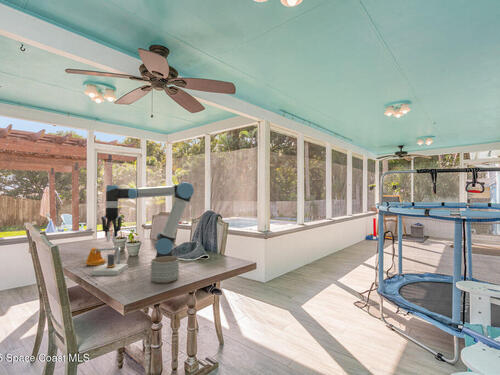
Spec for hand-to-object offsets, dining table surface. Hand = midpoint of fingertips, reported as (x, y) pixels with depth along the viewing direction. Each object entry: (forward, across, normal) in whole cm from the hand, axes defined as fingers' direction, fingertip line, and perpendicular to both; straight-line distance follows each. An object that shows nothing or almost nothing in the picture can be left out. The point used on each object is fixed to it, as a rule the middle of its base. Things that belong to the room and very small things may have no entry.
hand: (111, 241), depth 181 cm
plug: (+21, 0, 0) cm, 21 cm away
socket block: (+20, 0, 0) cm, 20 cm away
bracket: (+21, +20, -18) cm, 34 cm away
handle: (+20, +6, -7) cm, 22 cm away
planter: (+21, -42, +17) cm, 50 cm away
